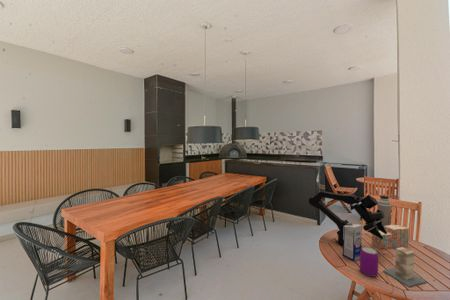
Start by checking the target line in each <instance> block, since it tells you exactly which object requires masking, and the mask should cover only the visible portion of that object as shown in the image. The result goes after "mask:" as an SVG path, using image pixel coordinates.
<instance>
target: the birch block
mask: <svg viewBox="0 0 450 300" xmlns="http://www.w3.org/2000/svg"><path fill="white" fill-rule="evenodd" d="M414 261H415V251H412V250H410V249H408V248H407V247H397V248H395V265H394V266H395V267H394V268H395V274H397V275H399V276H401V277H402V278H404V279H406V280H407V279H410V278H413V274H414V263H415V262H414Z"/></svg>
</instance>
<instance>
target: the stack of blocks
mask: <svg viewBox="0 0 450 300" xmlns="http://www.w3.org/2000/svg"><path fill="white" fill-rule="evenodd" d="M384 228H385V230H386V232H387V234H384V233H383V232H381V231H379V232H380V234H381V235H382V236H383V239H381V238H379V237H377V236H375V235H374V234H372V233H371V245H372V246H374V247H375V248H377V249H379V250H384V249H385V250H387V249H397V248H401V247H404V248H407V247H409V236H410V235H409V233H410V231H409V227H406V226H403V225H400V224H391V225H388V226H384Z"/></svg>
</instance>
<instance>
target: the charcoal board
mask: <svg viewBox="0 0 450 300" xmlns="http://www.w3.org/2000/svg"><path fill="white" fill-rule="evenodd" d="M382 272H383V273H384V274H386V275H387V276H389V277H391V278H392V279H394V280H396V281H397V282H399V283H401V284H403V285H404V286H406V287H407V288H412V287H417V286H420V285H423V284H427V283H428V281H427V280H426V279H424V278H422V277H419V276H418V275H416V274H414V273H413V278H410V279H407V280H406V279H404V278H402V277H401V276H399V275H397V274H395V267H391V268H388V269H384V270H382Z"/></svg>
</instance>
